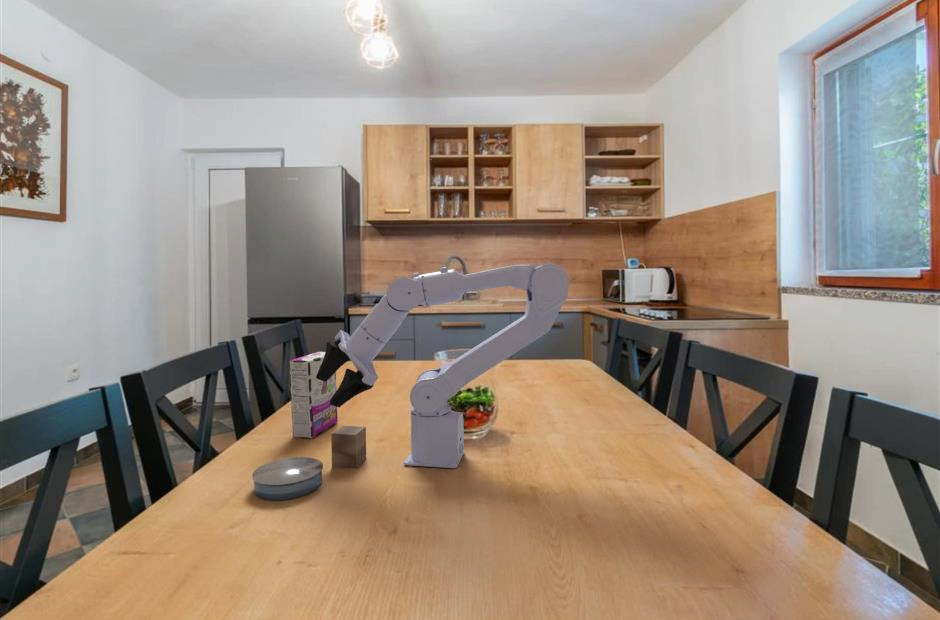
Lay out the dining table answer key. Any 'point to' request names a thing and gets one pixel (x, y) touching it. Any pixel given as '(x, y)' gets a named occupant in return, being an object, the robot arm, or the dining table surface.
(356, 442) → the walnut block
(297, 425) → the candy bar box
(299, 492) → the biscuit tin
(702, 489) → the dining table surface
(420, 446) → the robot arm
